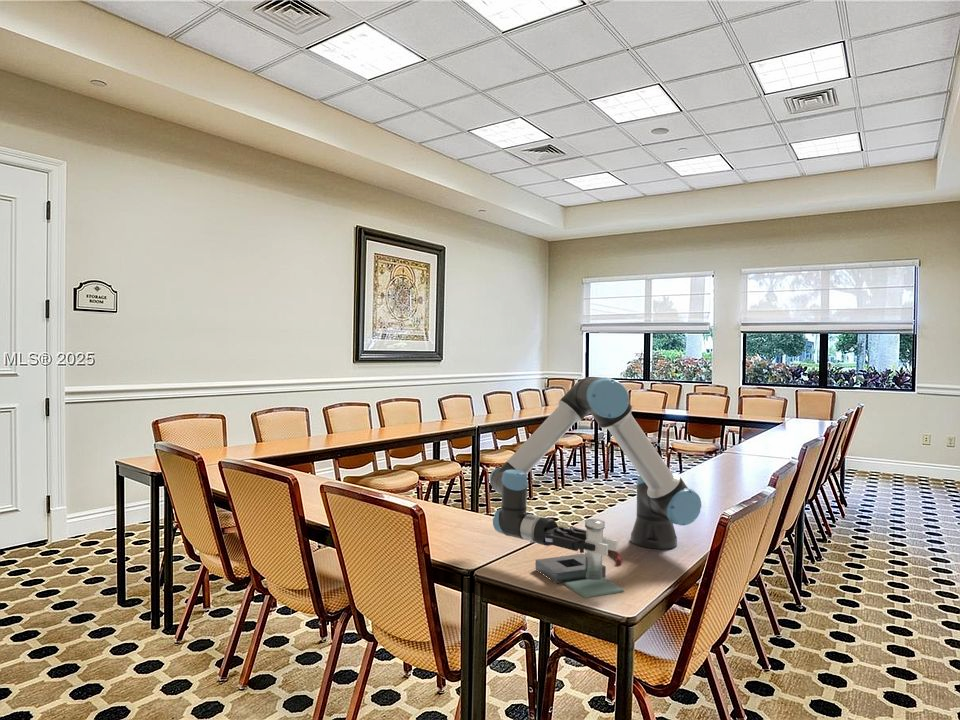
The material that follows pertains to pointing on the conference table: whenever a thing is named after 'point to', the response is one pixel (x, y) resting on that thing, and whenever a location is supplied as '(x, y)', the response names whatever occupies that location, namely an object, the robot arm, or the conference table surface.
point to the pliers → (615, 556)
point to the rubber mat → (593, 587)
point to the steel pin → (593, 559)
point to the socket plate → (564, 568)
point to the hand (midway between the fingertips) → (611, 548)
